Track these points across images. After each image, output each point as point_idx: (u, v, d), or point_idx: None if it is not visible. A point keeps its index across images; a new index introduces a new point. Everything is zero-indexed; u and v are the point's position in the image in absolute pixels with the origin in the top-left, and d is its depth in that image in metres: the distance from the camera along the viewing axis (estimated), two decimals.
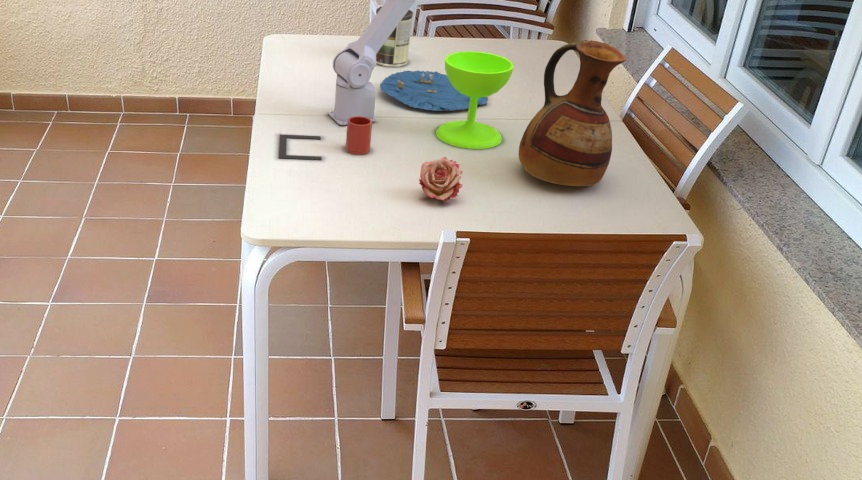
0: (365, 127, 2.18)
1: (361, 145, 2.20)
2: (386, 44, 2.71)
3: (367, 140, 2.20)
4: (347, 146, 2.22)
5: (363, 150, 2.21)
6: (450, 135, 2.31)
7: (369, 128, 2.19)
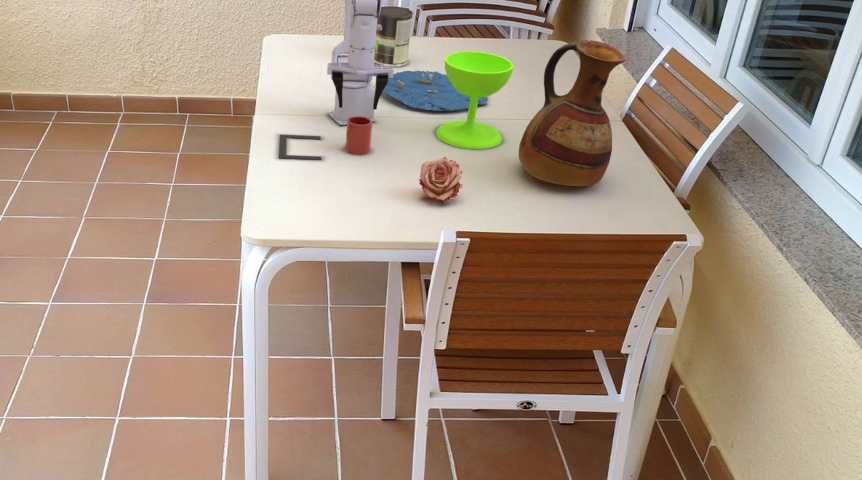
0: (365, 127, 2.18)
1: (361, 145, 2.20)
2: (386, 44, 2.71)
3: (367, 140, 2.20)
4: (347, 146, 2.22)
5: (363, 150, 2.21)
6: (450, 135, 2.31)
7: (369, 128, 2.19)
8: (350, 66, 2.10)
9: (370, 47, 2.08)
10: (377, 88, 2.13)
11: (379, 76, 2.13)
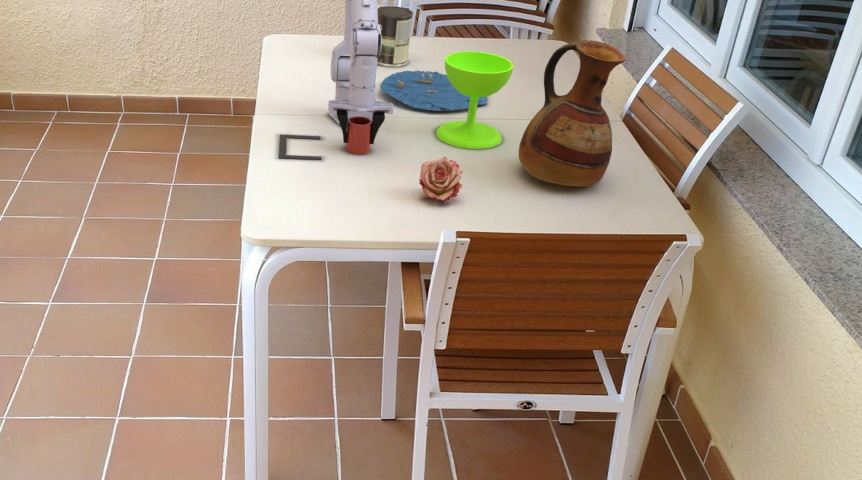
0: (365, 127, 2.18)
1: (362, 145, 2.20)
2: (386, 44, 2.71)
3: (367, 140, 2.20)
4: (347, 146, 2.22)
5: (363, 150, 2.21)
6: (450, 135, 2.31)
7: (369, 128, 2.19)
8: (351, 104, 2.16)
9: (371, 86, 2.13)
10: (374, 124, 2.18)
11: (376, 112, 2.18)
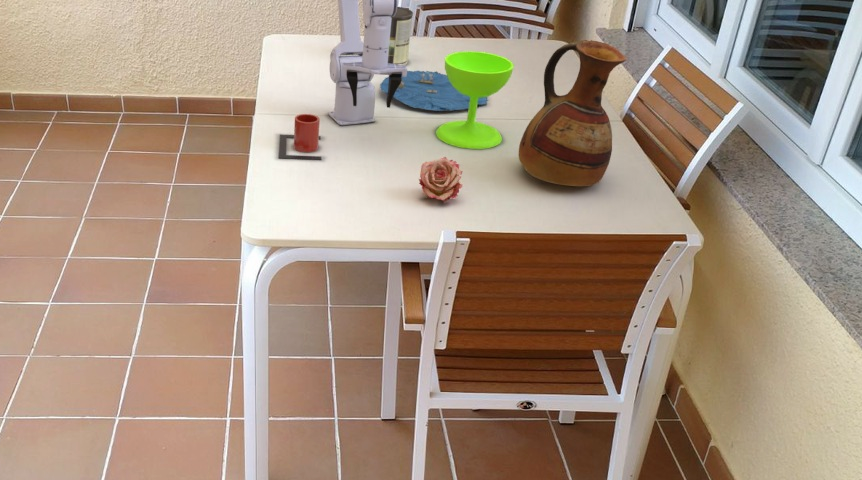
0: (312, 125, 2.17)
1: (309, 143, 2.19)
2: None
3: (315, 138, 2.20)
4: (295, 144, 2.21)
5: (311, 148, 2.20)
6: (450, 135, 2.31)
7: (316, 126, 2.18)
8: (365, 65, 2.14)
9: (386, 46, 2.12)
10: (391, 87, 2.17)
11: (393, 75, 2.17)
